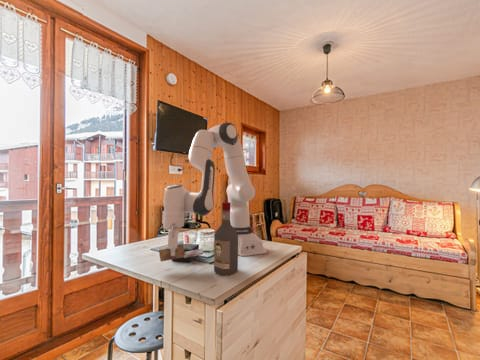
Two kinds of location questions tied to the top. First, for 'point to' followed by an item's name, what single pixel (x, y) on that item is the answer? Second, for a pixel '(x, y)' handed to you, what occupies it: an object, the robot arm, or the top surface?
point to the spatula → (178, 253)
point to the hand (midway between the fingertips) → (173, 253)
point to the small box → (188, 248)
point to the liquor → (226, 245)
